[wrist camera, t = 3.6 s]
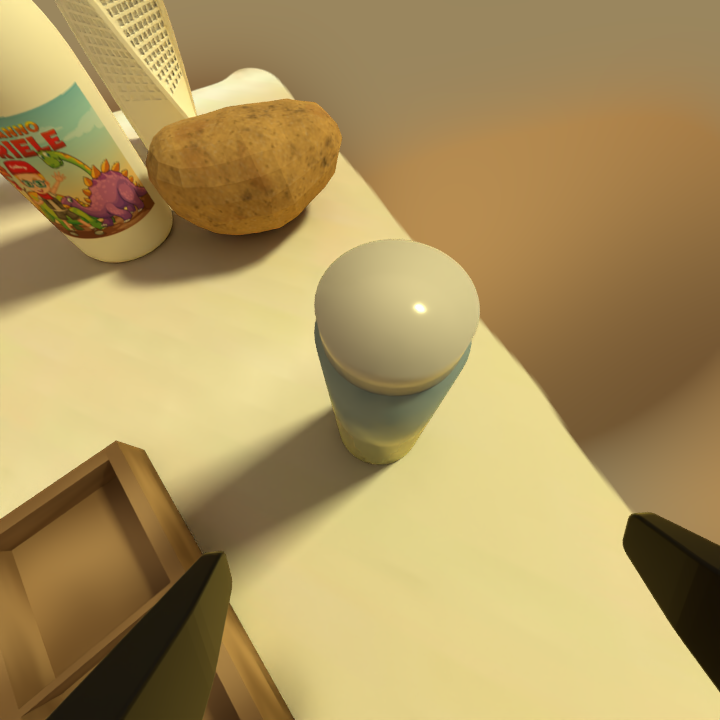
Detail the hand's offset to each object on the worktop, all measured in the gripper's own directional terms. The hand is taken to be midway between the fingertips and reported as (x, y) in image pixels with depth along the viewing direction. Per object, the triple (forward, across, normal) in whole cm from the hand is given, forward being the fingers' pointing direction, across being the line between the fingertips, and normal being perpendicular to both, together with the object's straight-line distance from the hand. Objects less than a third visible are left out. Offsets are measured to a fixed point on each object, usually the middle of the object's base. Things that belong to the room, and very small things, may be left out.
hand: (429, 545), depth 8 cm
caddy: (+6, +13, +11) cm, 18 cm away
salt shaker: (+13, 0, +4) cm, 14 cm away
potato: (+27, +8, -9) cm, 29 cm away
